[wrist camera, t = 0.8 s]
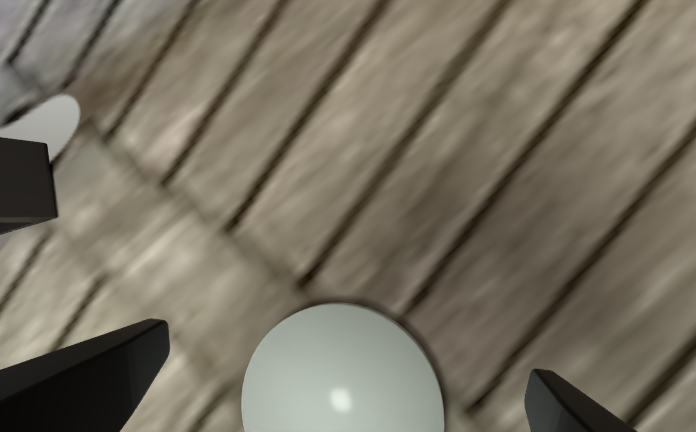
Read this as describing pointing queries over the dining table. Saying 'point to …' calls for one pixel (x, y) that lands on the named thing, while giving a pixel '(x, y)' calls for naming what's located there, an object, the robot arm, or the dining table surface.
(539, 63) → the dining table surface
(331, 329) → the dish
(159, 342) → the robot arm
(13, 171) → the phone stand
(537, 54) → the dining table surface
